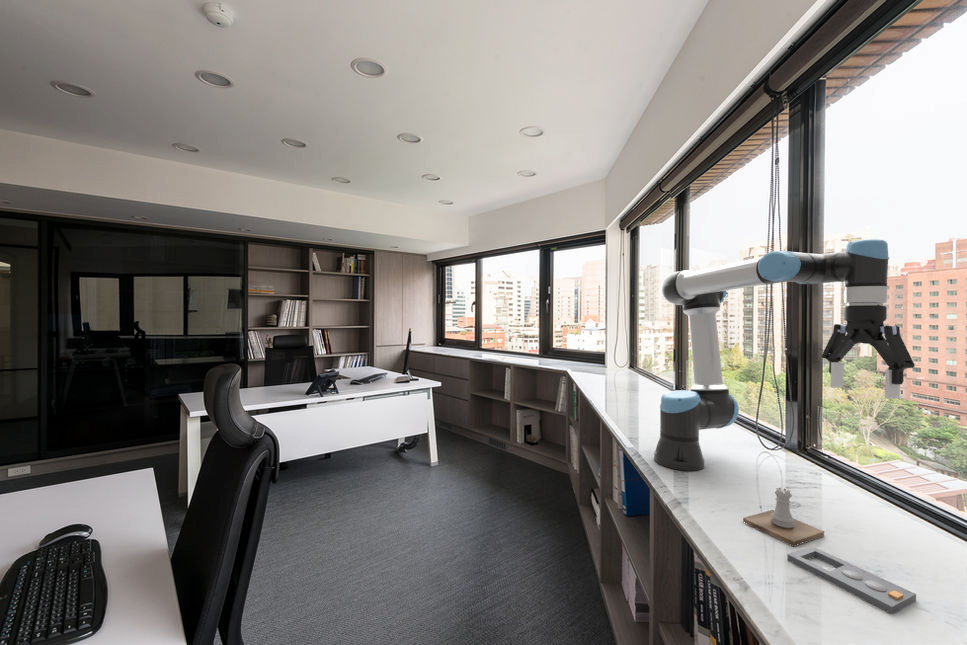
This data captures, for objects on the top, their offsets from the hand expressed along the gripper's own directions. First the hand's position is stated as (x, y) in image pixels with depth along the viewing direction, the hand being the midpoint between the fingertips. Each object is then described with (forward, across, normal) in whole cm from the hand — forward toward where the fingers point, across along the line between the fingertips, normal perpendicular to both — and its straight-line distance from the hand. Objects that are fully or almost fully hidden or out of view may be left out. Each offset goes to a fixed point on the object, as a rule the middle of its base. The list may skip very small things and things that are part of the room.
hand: (862, 392), depth 99 cm
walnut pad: (+31, -4, +23) cm, 39 cm away
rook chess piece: (+30, -4, +23) cm, 38 cm away
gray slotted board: (+31, -22, +25) cm, 45 cm away
